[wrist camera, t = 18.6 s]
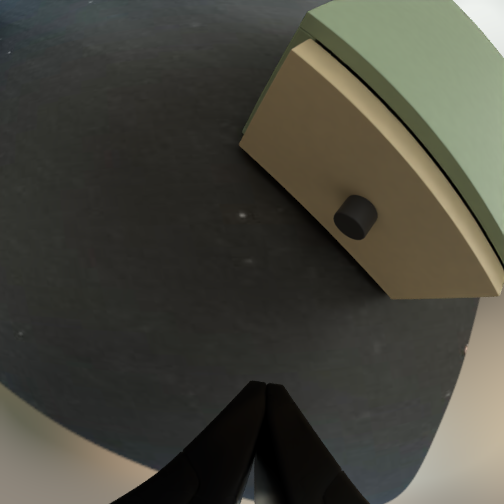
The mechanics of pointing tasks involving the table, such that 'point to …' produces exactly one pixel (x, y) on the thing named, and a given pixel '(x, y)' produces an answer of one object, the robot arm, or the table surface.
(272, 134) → the drawer
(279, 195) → the table surface
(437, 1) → the cabinet
